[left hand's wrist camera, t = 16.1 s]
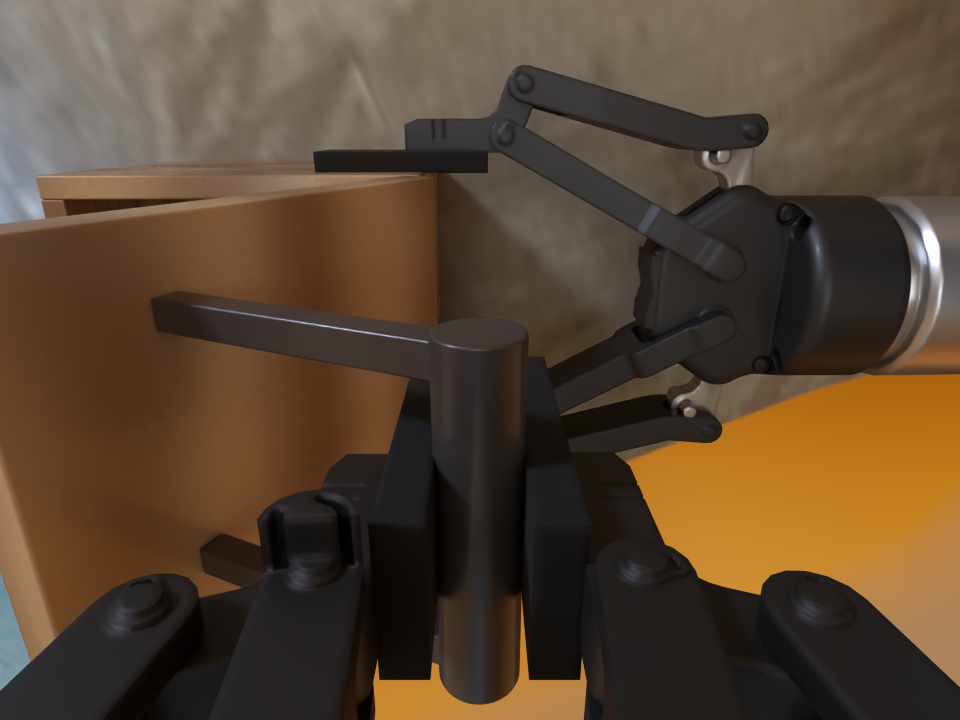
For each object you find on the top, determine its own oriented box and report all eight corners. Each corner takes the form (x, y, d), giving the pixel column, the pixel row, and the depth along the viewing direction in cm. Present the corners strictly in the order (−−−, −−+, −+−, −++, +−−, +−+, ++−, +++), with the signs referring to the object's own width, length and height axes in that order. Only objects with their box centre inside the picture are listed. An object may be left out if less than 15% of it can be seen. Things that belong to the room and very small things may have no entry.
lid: (45, 711, 12) (425, 939, 9) (-116, 236, 9) (392, 302, 6) (413, 422, 25) (634, 470, 21) (402, 175, 21) (663, 184, 18)
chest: (196, 342, 34) (94, 419, 25) (165, 162, 31) (34, 175, 22) (441, 341, 34) (428, 417, 25) (436, 161, 31) (420, 174, 22)
